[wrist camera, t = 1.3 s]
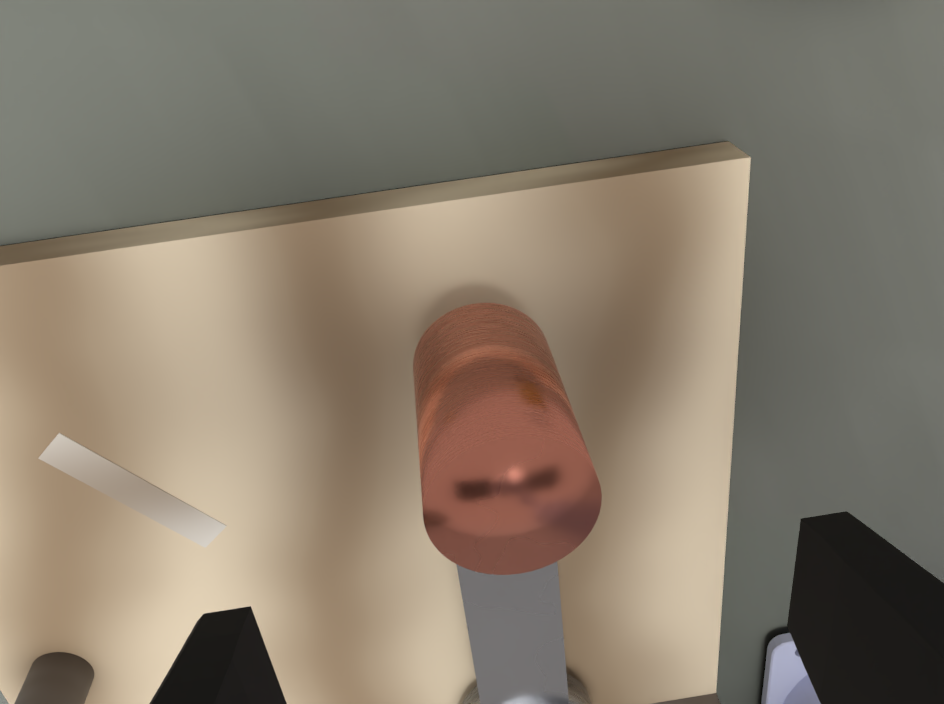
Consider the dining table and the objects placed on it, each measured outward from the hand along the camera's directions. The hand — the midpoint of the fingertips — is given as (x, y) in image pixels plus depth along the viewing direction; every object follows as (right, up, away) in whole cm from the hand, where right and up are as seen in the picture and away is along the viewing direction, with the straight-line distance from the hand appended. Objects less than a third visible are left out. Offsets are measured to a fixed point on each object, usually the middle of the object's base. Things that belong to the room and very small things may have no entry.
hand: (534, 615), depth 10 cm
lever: (0, -2, +10) cm, 10 cm away
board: (-4, -3, +12) cm, 13 cm away
